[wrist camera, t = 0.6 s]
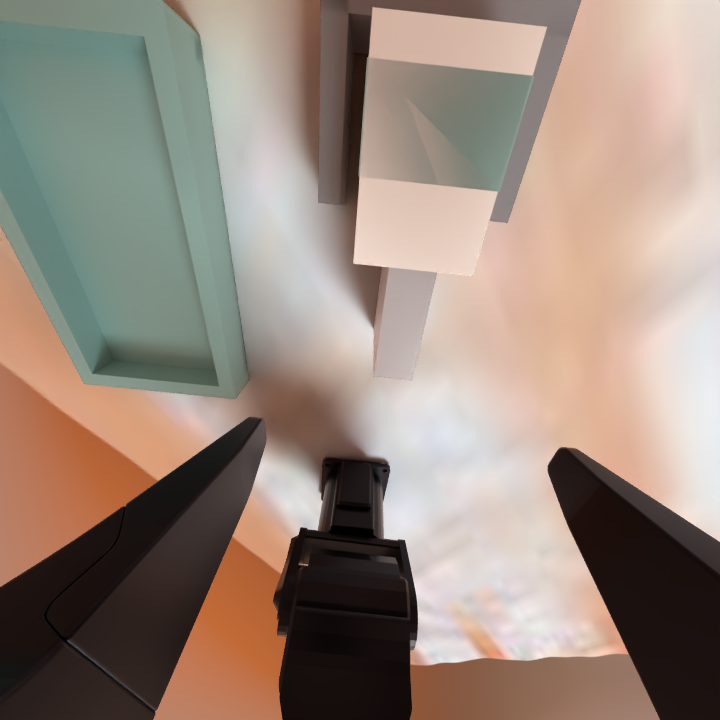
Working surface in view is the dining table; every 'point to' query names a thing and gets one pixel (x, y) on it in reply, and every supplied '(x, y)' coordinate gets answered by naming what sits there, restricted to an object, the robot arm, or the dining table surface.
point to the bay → (496, 3)
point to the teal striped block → (433, 158)
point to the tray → (119, 193)
